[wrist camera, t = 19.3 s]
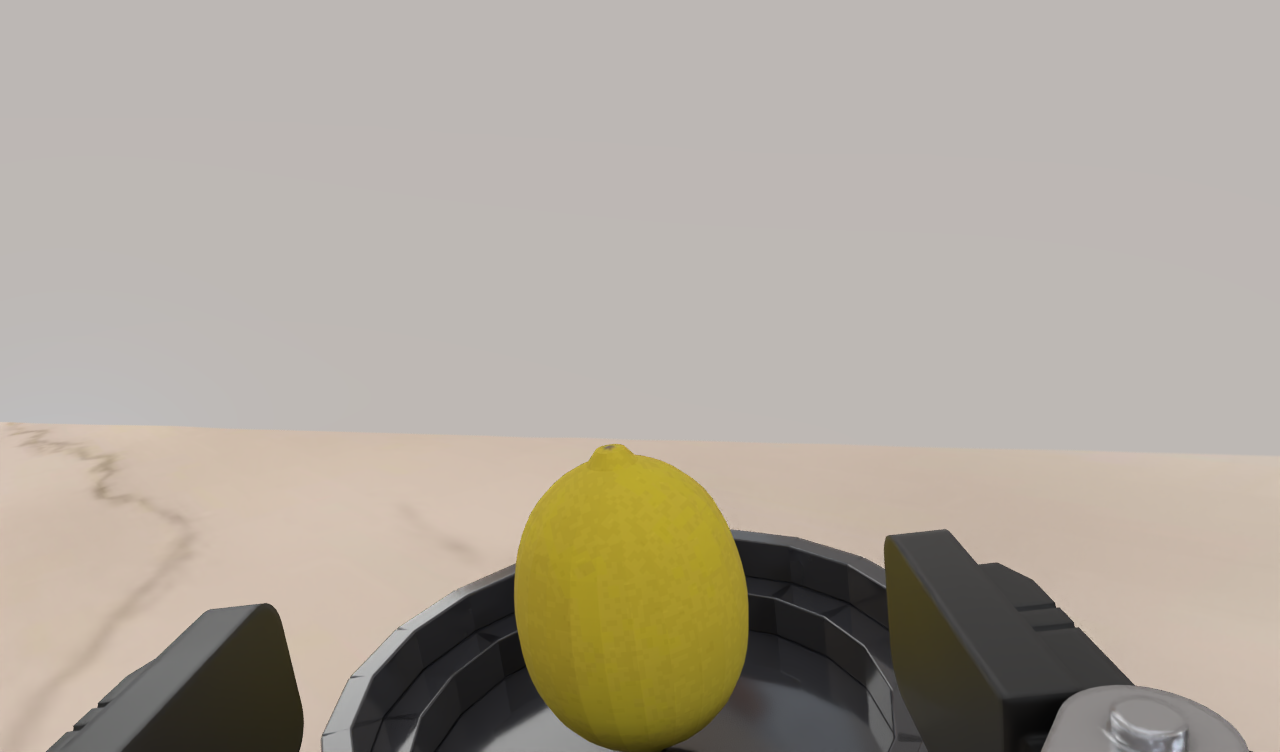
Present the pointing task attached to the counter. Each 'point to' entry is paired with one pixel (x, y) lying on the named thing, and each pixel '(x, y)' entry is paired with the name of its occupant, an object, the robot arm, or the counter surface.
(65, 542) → the counter surface
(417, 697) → the pan
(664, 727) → the lemon
